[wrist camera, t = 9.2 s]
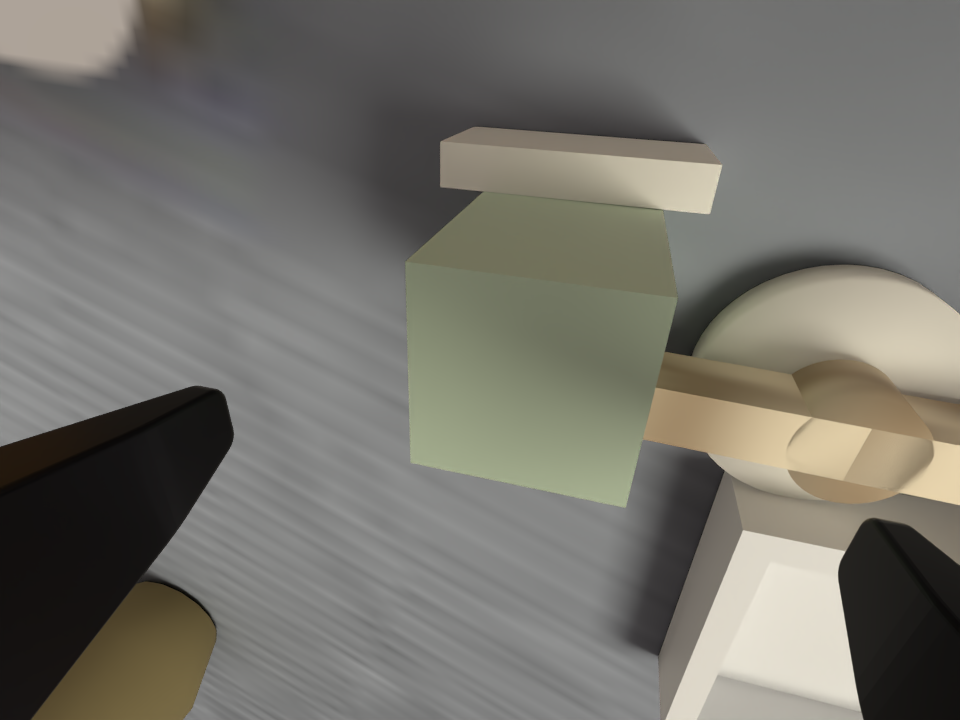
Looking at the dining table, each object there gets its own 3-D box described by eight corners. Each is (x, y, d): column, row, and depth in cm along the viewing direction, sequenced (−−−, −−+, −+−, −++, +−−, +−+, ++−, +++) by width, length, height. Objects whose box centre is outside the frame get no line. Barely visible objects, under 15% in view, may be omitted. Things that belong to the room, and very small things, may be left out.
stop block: (658, 182, 14) (677, 298, 7) (630, 318, 16) (625, 507, 9) (509, 168, 15) (405, 262, 8) (500, 300, 17) (410, 463, 10)
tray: (1129, 536, 16) (1225, 629, 13) (947, 731, 21) (989, 823, 19) (727, 461, 18) (743, 529, 15) (658, 657, 23) (660, 730, 21)
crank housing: (1085, 173, 12) (1207, 205, 9) (897, 493, 17) (944, 571, 14) (474, 126, 15) (439, 141, 12) (464, 413, 19) (439, 467, 17)
